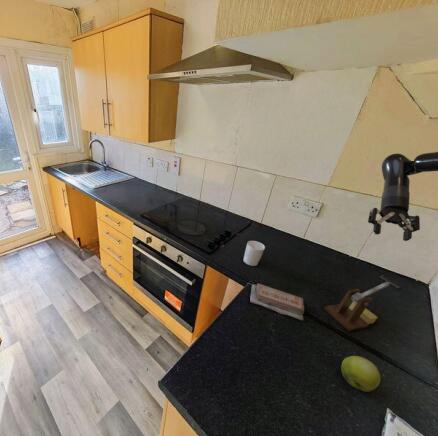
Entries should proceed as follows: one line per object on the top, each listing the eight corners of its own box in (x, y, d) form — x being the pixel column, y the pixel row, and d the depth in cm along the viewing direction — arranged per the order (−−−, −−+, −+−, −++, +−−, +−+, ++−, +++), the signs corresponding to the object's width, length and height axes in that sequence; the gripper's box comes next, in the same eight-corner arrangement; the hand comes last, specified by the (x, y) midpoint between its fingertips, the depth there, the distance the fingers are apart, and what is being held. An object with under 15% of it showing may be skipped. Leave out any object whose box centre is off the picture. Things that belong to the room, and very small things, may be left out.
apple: (373, 380, 65) (388, 364, 61) (368, 405, 59) (384, 388, 55) (340, 359, 70) (352, 343, 66) (332, 380, 64) (345, 363, 61)
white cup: (240, 256, 116) (245, 239, 111) (256, 258, 115) (262, 241, 111) (244, 265, 109) (249, 248, 104) (261, 268, 108) (267, 250, 104)
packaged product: (303, 294, 87) (307, 312, 79) (299, 303, 90) (302, 321, 82) (254, 277, 94) (253, 293, 86) (251, 286, 96) (249, 302, 88)
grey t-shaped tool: (382, 278, 84) (383, 273, 82) (401, 289, 78) (403, 285, 77) (345, 295, 83) (346, 291, 82) (362, 308, 78) (363, 304, 77)
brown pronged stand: (341, 305, 90) (355, 282, 85) (367, 327, 81) (385, 303, 76) (323, 308, 88) (336, 285, 82) (348, 331, 79) (365, 307, 74)
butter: (351, 305, 90) (355, 300, 89) (373, 322, 83) (377, 317, 82) (344, 307, 89) (348, 301, 88) (366, 324, 82) (370, 318, 81)
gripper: (378, 191, 89) (374, 229, 85) (426, 199, 84) (425, 239, 80) (366, 199, 96) (362, 234, 92) (411, 207, 91) (408, 245, 87)
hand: (391, 237), depth 86 cm, fingers open, 8 cm apart
